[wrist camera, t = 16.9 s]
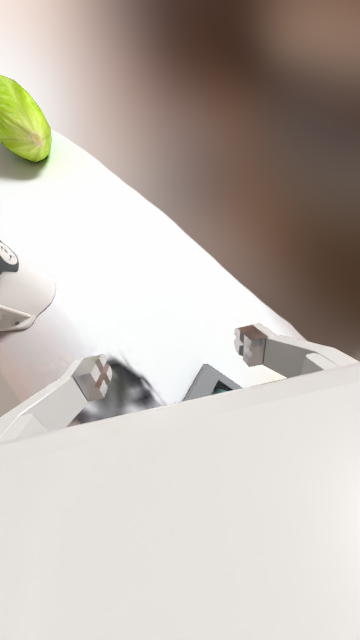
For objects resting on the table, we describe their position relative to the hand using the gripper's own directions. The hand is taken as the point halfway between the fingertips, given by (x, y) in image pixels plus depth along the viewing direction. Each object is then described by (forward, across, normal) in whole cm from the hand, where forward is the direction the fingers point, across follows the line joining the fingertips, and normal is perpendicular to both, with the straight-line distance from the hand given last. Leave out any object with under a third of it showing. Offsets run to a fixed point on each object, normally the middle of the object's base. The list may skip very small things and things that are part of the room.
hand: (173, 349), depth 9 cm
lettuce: (+67, +34, -41) cm, 86 cm away
